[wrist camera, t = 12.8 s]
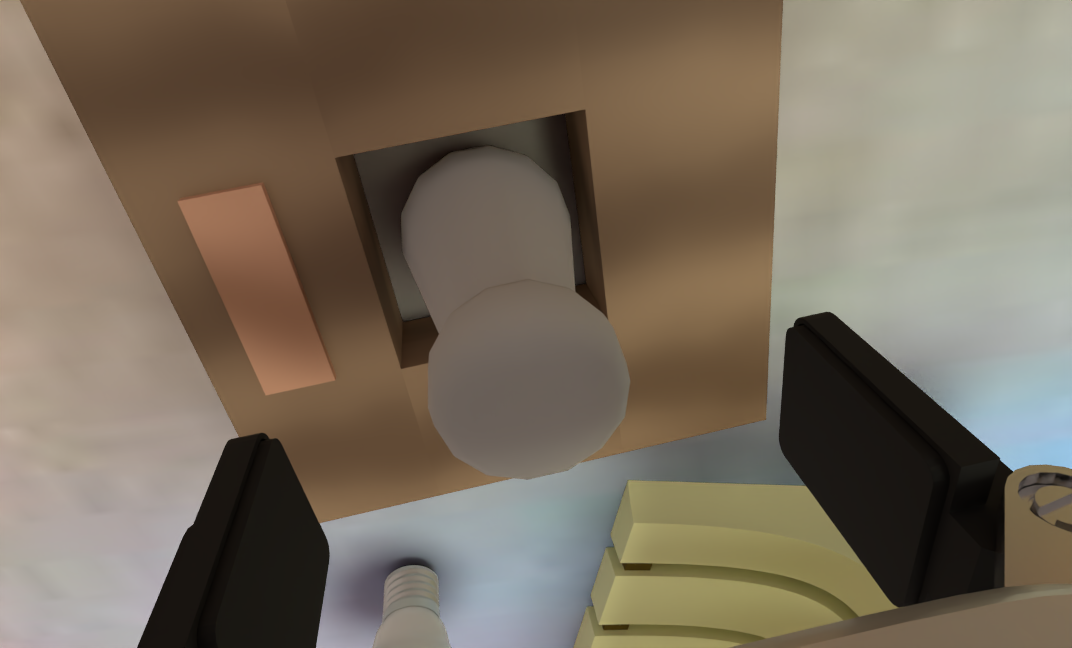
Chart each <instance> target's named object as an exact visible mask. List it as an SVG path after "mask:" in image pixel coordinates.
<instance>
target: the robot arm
mask: <svg viewBox="0 0 1072 648" xmlns="http://www.w3.org/2000/svg"><path fill="white" fill-rule="evenodd" d="M779 442H780V447H781V450H782V452H783V454H784V456H785V458H786V459H787V460H788V462H789V463H790V464H791V466H792V467H793V469H794V470H795V471H796V473H797V474H798V475H799V477H800V478H801V480H802V481H803V482H804V484H805V485H806V486H807V488H808V489H809V491H810V492H811V493H812V495H813V496H814V497H815V499H816V500H817V502H818V503H819V504H820V506H821V507H822V509H823V510H824V511H825V513H826V514H827V515H828V517H829V518H830V520H831V521H832V522H833V524H834V525H835V526H836V528H837V529H838V531H839V532H840V533H841V535H842V536H843V537H844V539H845V540H846V542H847V543H848V544H849V546H850V547H851V548H852V550H853V551H854V553H855V554H856V555H857V557H858V558H859V559H860V561H861V562H862V564H863V565H864V566H865V568H866V569H867V571H868V572H869V573H870V575H871V576H872V577H873V579H874V580H875V582H876V583H877V584H878V586H879V587H880V588H881V590H882V591H883V593H884V594H885V595H886V597H887V598H888V599H889V600H890V602H891V603H892V604H893V605H895V606H896V607H899V608H896V609H892V610H887V611H883V612H878V613H873V614H869V615H864V616H860V617H856V618H852V619H847V620H843V621H839V622H835V623H831V624H826V625H822V626H818V627H814V628H809V629H805V630H801V631H797V632H793V633H788V634H784V635H780V636H776V637H771V638H767V639H763V640H759V641H755V642H750V643H746V644H742V645H738V646H734V647H729V648H1072V469H1069V468H1066V467H1060V466H1052V465H1029V466H1026V467H1023V468H1020V469H1017V470H1015V471H1014V472H1013V471H1012V470H1011V469H1010V468H1008V467H1007V466H1006V465H1005V464H1004V463H1003V462H1001V461H1000V458H999V457H998V456H997V455H996V454H995V453H994V452H992V451H991V450H990V449H989V448H988V447H987V446H986V445H984V444H983V443H982V442H981V441H980V440H979V439H977V438H976V437H975V436H974V435H973V434H972V433H971V432H969V431H968V430H967V429H966V428H965V427H964V426H962V425H961V424H960V423H959V422H958V421H957V420H956V419H954V418H953V417H952V416H951V415H950V414H949V413H947V412H946V411H945V410H944V409H943V408H942V407H941V406H939V405H938V404H937V403H936V402H935V401H934V400H932V399H931V398H930V397H929V396H928V395H927V394H926V393H924V392H923V391H922V390H921V389H920V388H919V387H917V386H916V385H915V384H914V383H913V382H912V381H911V380H909V379H908V378H907V377H906V376H905V375H904V374H902V373H901V372H900V371H899V370H898V369H897V368H896V367H894V366H893V365H892V364H891V363H890V362H889V361H887V360H886V359H885V358H884V357H883V356H882V355H881V354H879V353H878V352H877V351H876V350H875V349H874V348H872V347H871V346H870V345H869V344H868V343H867V342H866V341H864V340H863V339H862V338H861V337H860V336H859V335H857V334H856V333H855V332H854V331H853V330H852V329H850V328H849V327H848V326H847V325H846V324H845V323H844V322H842V321H841V320H840V319H839V318H838V317H837V316H835V315H834V314H833V313H831V312H824V313H819V314H815V315H810V316H805V317H801V318H798V319H797V320H796V321H795V323H794V327H791V328H789V329H788V330H787V332H786V341H785V356H784V370H783V385H782V400H781V414H780V429H779ZM329 557H330V556H329V545H328V541H327V539H326V536H325V534H324V532H323V530H322V528H321V526H320V524H319V522H318V519H317V517H316V515H315V513H314V511H313V509H312V507H311V505H310V503H309V501H308V498H307V496H306V494H305V492H304V490H303V488H302V486H301V484H300V482H299V479H298V477H297V475H296V473H295V471H294V469H293V467H292V465H291V463H290V460H289V458H288V456H287V454H286V452H285V450H284V448H283V446H282V444H281V442H280V440H278V439H277V438H273V439H269V437H268V436H267V435H266V434H265V433H258V434H253V435H248V436H243V437H239V438H234V439H231V440H229V441H228V442H227V444H226V445H225V448H224V450H223V453H222V455H221V458H220V460H219V462H218V465H217V467H216V470H215V472H214V475H213V477H212V480H211V482H210V485H209V487H208V490H207V492H206V495H205V497H204V500H203V502H202V504H201V507H200V509H199V512H198V514H197V517H196V519H195V522H194V524H193V525H192V526H191V527H190V528H188V529H187V531H186V533H185V534H184V536H183V538H182V541H181V543H180V545H179V548H178V550H177V553H176V555H175V558H174V560H173V562H172V565H171V567H170V570H169V572H168V574H167V577H166V579H165V582H164V584H163V587H162V589H161V591H160V594H159V596H158V599H157V601H156V603H155V606H154V608H153V611H152V613H151V615H150V618H149V620H148V623H147V625H146V628H145V630H144V632H143V635H142V637H141V640H140V642H139V644H138V647H137V648H316V642H317V636H318V630H319V623H320V617H321V610H322V604H323V597H324V591H325V585H326V578H327V572H328V565H329ZM900 607H901V608H900Z"/></svg>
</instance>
